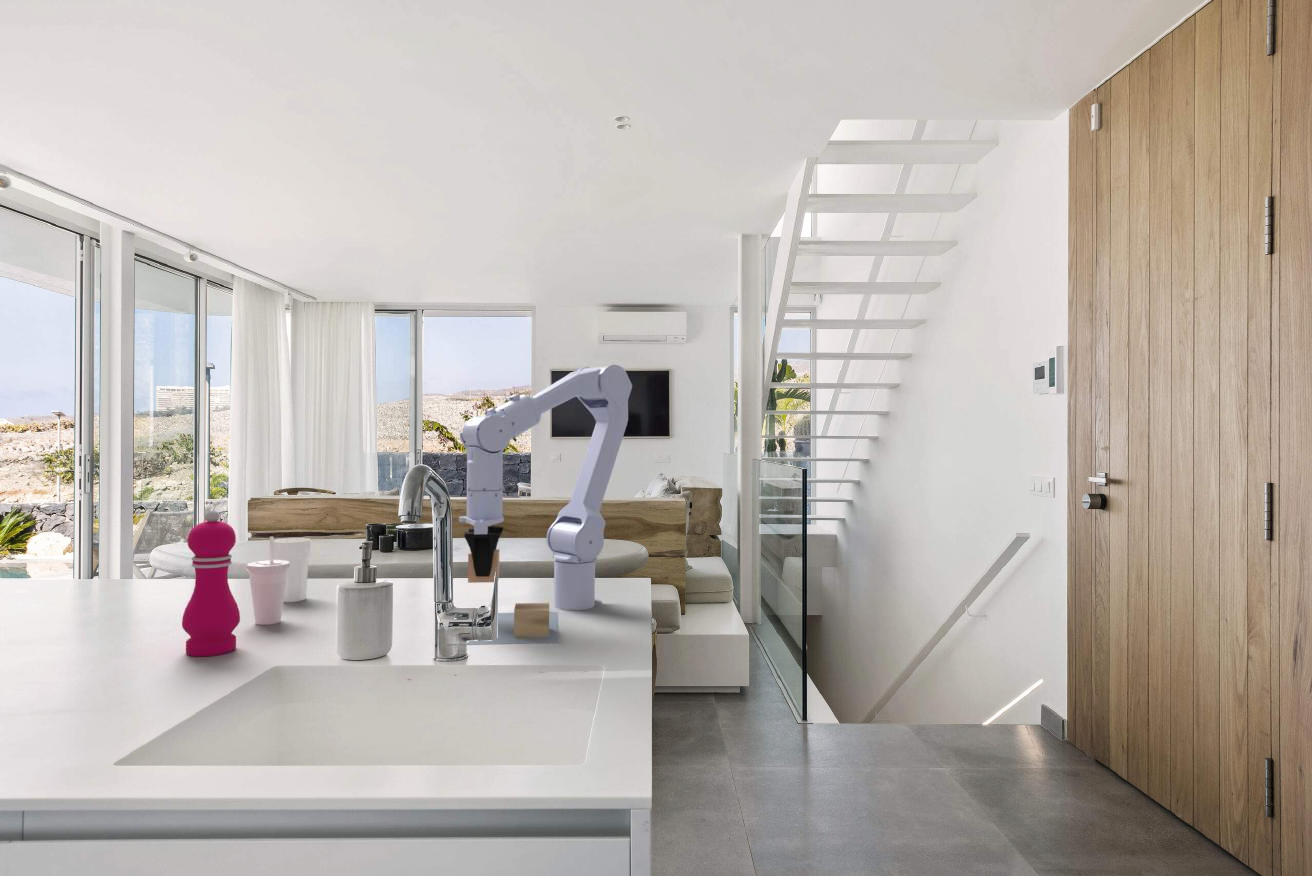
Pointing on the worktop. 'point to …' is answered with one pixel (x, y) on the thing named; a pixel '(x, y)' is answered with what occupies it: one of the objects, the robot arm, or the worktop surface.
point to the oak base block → (531, 620)
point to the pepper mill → (211, 590)
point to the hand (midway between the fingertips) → (484, 573)
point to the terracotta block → (490, 578)
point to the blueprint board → (508, 637)
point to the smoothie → (268, 588)
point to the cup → (294, 565)
